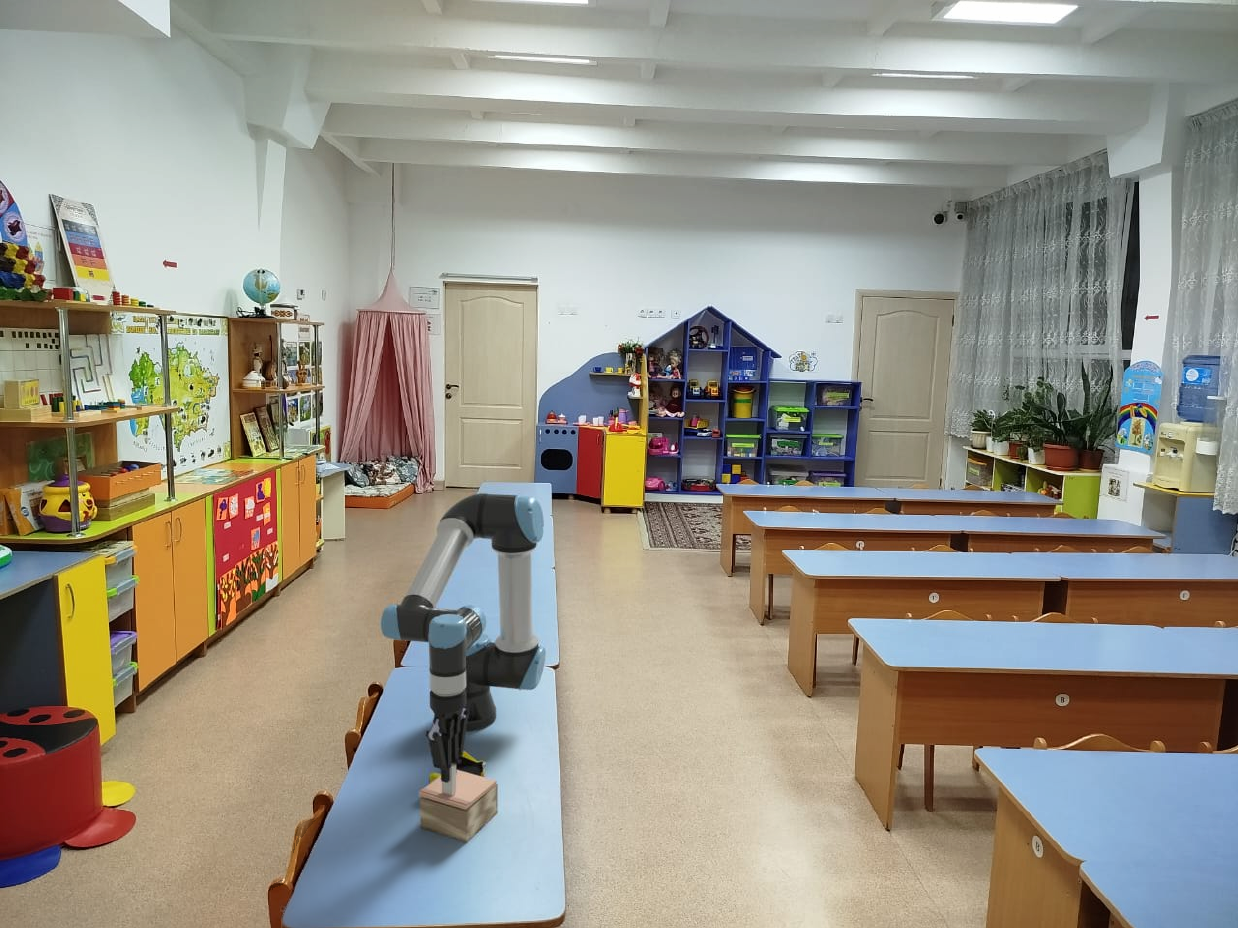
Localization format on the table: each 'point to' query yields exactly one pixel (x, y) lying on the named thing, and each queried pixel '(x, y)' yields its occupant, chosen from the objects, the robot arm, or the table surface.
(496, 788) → the box
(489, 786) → the lid
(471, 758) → the gaming controller
